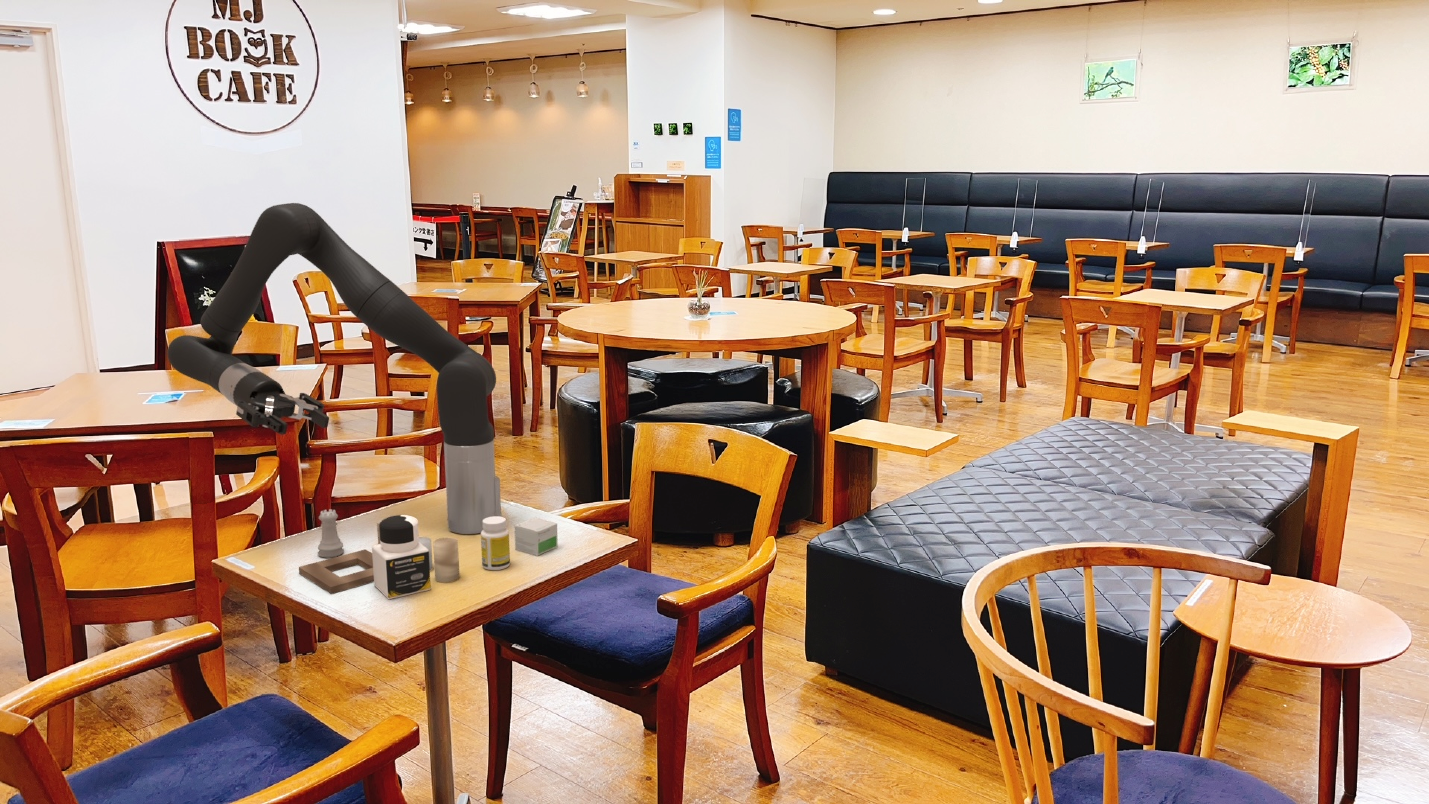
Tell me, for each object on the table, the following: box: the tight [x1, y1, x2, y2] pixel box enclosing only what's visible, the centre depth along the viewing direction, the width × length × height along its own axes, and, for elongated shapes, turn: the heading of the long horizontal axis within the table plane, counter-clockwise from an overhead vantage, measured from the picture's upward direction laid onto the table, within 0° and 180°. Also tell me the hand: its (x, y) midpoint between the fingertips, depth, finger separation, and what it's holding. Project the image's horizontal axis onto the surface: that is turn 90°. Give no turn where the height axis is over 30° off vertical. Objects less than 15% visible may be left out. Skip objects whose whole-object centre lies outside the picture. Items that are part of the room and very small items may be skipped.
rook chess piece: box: [317, 508, 345, 559], centre depth 182 cm, size 4×4×8 cm
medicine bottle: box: [371, 514, 432, 600], centre depth 167 cm, size 7×7×12 cm
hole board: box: [298, 521, 381, 595], centre depth 173 cm, size 12×12×9 cm
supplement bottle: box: [480, 516, 511, 571], centre depth 177 cm, size 5×5×8 cm
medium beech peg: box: [432, 537, 461, 584], centre depth 172 cm, size 4×4×6 cm
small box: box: [514, 516, 558, 557], centre depth 186 cm, size 6×6×5 cm
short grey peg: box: [419, 536, 434, 571], centre depth 176 cm, size 4×4×5 cm
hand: (306, 426), depth 180 cm, fingers open, 8 cm apart
